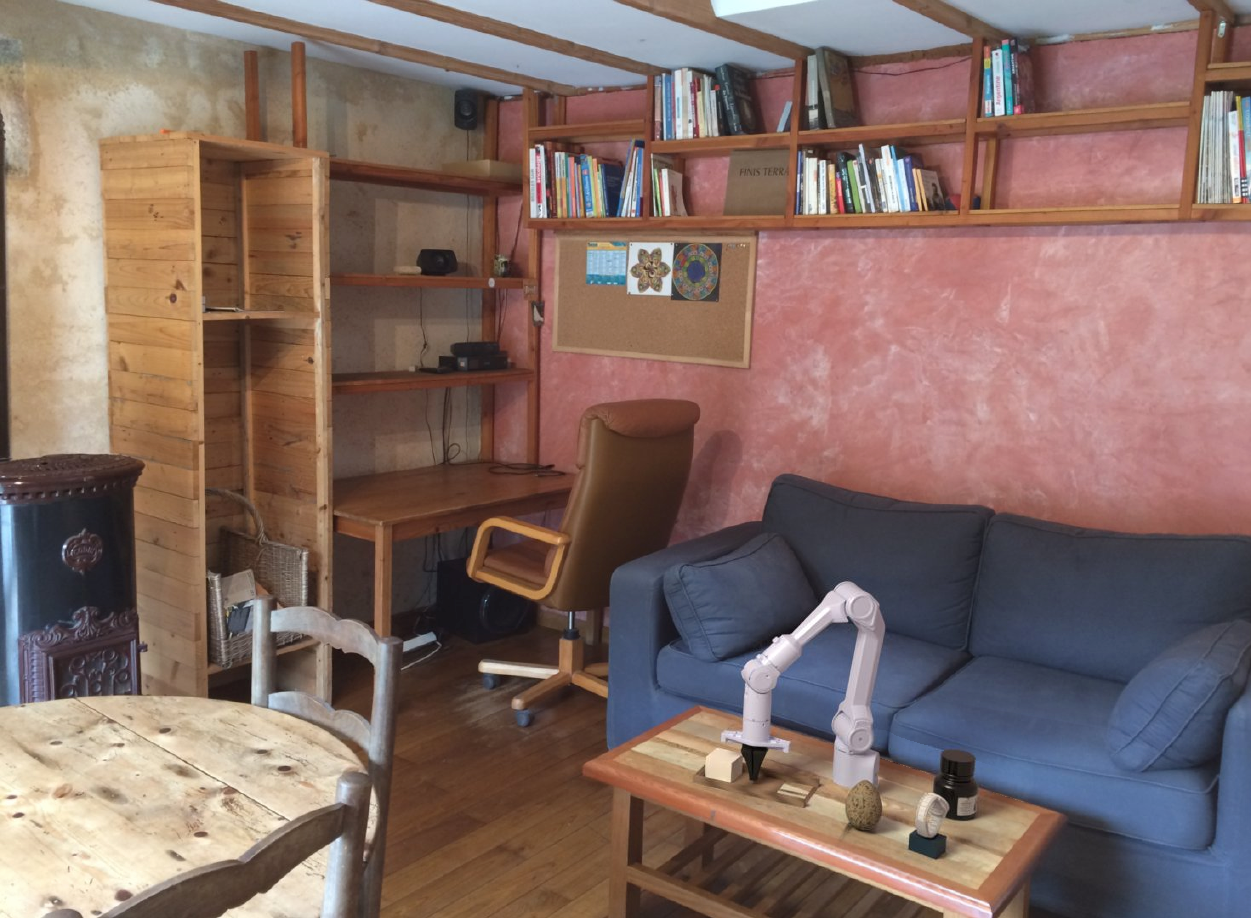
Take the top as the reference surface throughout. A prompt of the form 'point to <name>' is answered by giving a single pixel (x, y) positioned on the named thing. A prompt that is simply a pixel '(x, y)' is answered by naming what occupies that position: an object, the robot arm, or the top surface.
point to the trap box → (762, 785)
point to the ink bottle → (957, 784)
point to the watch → (929, 827)
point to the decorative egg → (863, 806)
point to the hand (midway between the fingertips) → (753, 778)
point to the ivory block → (723, 765)
